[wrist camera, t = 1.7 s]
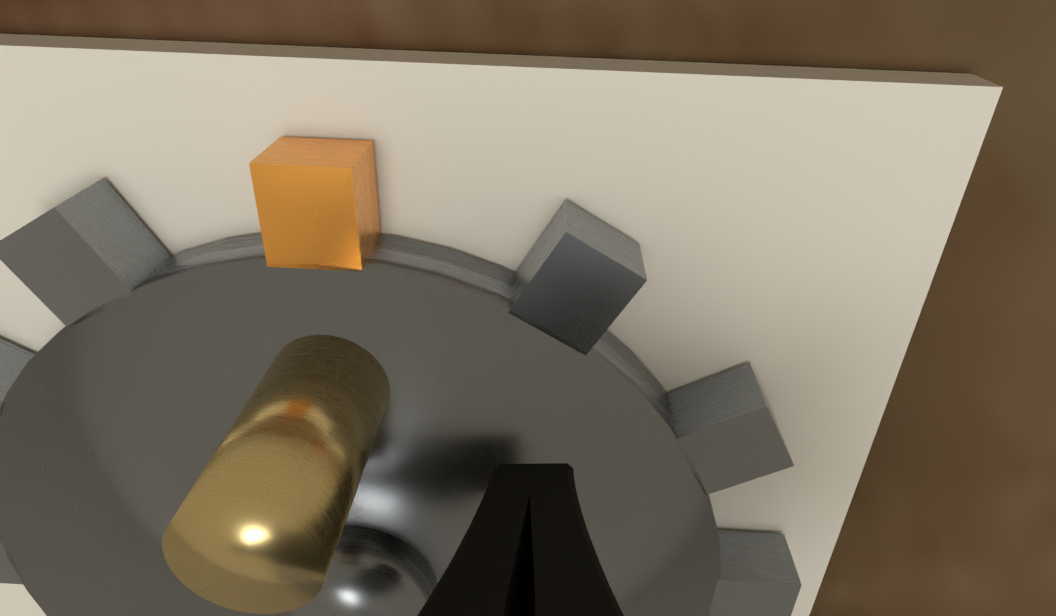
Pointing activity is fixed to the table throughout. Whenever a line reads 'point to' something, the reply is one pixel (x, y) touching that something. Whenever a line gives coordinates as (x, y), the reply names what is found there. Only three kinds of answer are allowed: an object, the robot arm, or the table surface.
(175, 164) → the base board
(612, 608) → the robot arm
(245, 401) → the sprocket
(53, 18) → the table surface
